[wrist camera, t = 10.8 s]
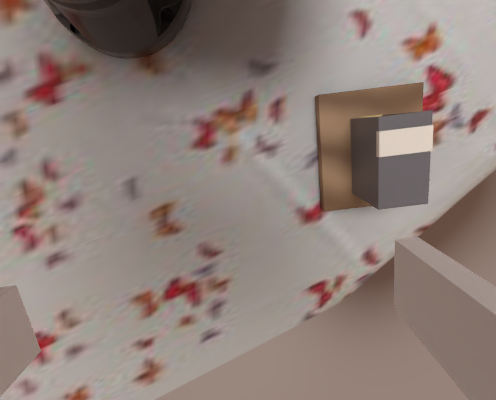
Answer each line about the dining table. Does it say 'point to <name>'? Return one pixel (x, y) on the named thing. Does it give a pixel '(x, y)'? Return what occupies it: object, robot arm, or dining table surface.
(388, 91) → the board
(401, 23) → the dining table surface
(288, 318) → the dining table surface
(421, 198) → the block
